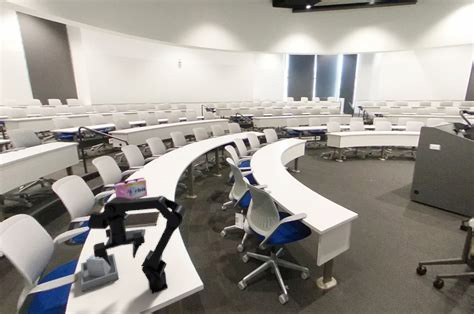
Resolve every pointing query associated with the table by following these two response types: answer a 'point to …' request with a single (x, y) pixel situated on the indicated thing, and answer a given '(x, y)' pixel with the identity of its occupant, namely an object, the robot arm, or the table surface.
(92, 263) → the medicine box
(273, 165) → the table surface
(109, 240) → the dark gray book
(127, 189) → the gum box
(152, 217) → the hardcover book
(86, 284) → the bin
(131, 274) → the table surface
